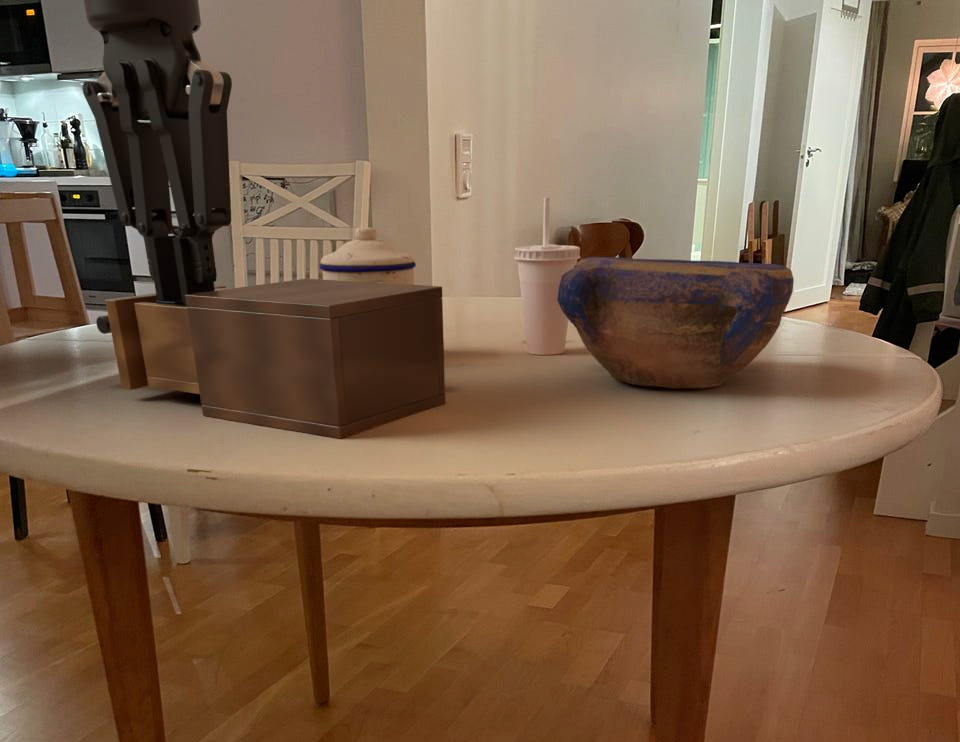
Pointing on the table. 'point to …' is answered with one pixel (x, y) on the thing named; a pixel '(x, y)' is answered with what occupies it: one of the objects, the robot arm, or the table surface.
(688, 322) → the bowl
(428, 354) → the cabinet
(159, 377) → the drawer
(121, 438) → the table surface
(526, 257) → the smoothie
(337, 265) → the teacup with lid
